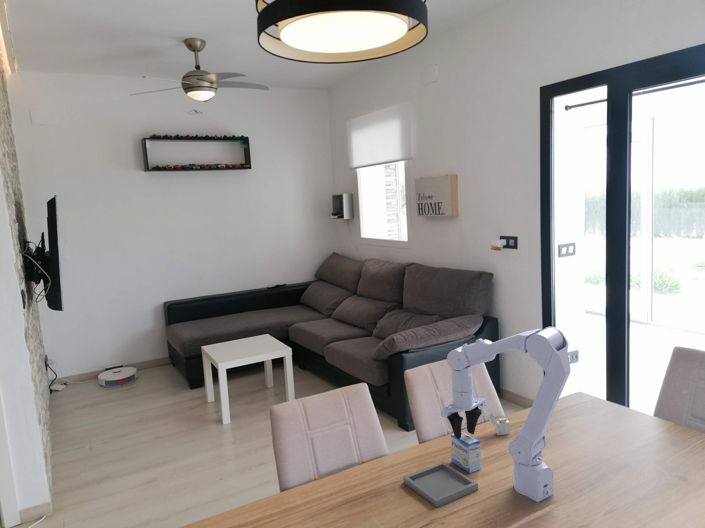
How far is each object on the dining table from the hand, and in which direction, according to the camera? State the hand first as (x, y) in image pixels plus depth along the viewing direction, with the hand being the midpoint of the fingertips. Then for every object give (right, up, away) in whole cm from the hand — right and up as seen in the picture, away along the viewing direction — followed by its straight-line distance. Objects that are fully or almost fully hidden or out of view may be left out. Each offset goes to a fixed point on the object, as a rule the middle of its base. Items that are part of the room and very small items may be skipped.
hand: (464, 435), depth 143 cm
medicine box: (+1, -10, +2) cm, 10 cm away
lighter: (+15, -7, +19) cm, 26 cm away
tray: (-8, -11, -8) cm, 16 cm away
